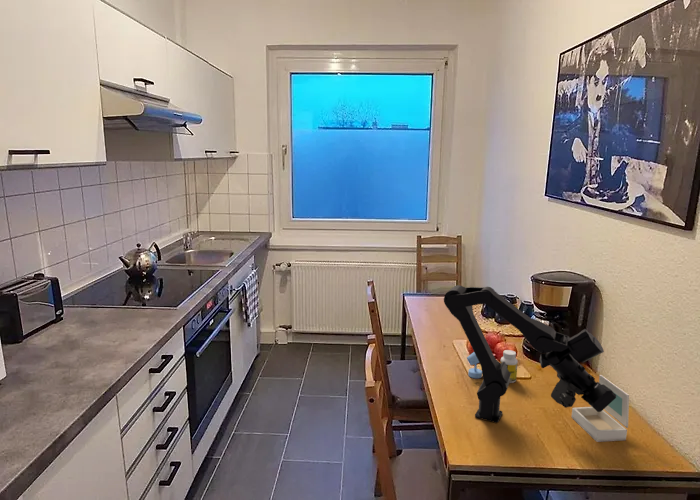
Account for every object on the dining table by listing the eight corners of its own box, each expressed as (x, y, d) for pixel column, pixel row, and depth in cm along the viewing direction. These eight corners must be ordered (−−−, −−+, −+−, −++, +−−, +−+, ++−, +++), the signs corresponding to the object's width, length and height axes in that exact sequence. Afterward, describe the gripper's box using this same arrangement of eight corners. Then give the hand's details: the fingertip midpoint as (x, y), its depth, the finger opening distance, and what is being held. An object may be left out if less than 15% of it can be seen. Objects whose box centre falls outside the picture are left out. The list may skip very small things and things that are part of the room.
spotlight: (482, 371, 164) (463, 372, 163) (484, 344, 162) (465, 345, 161) (489, 377, 159) (469, 379, 158) (490, 349, 158) (471, 351, 156)
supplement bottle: (497, 381, 157) (499, 353, 155) (500, 374, 162) (502, 347, 160) (514, 384, 154) (516, 356, 153) (517, 378, 159) (519, 350, 157)
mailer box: (596, 441, 123) (597, 431, 123) (571, 417, 135) (572, 407, 134) (625, 440, 124) (627, 429, 123) (598, 416, 136) (599, 406, 135)
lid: (626, 395, 121) (629, 394, 122) (598, 374, 133) (601, 374, 133) (625, 428, 123) (628, 427, 123) (598, 405, 135) (600, 404, 135)
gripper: (529, 373, 135) (562, 407, 138) (564, 406, 116) (602, 444, 119) (557, 345, 134) (591, 380, 137) (597, 375, 116) (635, 414, 119)
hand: (603, 404), depth 128 cm, fingers closed
